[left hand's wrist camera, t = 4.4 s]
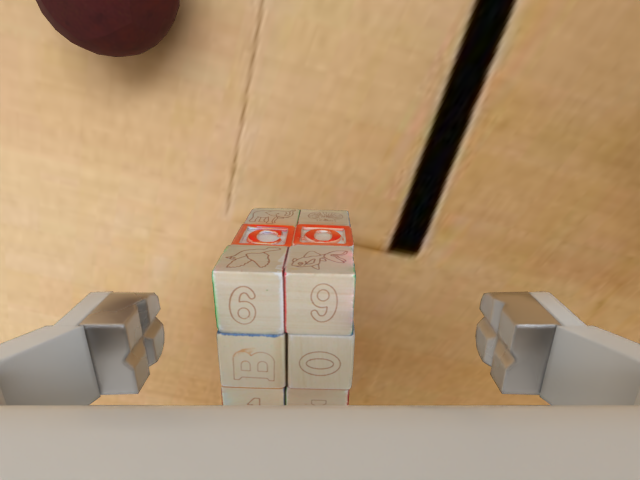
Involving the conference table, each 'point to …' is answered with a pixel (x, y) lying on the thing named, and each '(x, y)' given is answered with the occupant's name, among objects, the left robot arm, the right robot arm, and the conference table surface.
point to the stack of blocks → (287, 309)
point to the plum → (111, 23)
